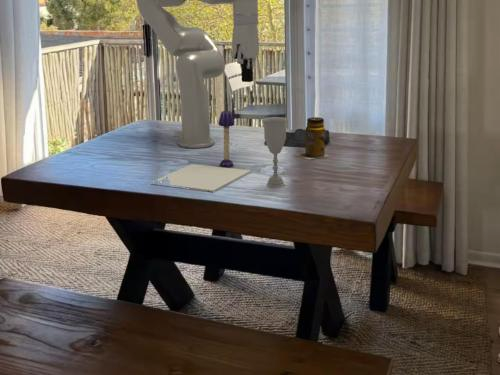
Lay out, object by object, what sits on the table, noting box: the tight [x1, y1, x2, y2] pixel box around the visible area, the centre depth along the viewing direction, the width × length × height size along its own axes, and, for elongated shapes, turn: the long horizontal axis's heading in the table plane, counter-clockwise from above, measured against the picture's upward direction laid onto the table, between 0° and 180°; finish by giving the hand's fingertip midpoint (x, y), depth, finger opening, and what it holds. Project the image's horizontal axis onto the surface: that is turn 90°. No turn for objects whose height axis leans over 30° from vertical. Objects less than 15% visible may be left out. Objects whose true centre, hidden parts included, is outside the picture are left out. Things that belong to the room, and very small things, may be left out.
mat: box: [153, 163, 252, 193], centre depth 190 cm, size 20×22×1 cm
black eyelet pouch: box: [263, 128, 330, 149], centre depth 233 cm, size 15×22×5 cm
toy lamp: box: [218, 110, 235, 168], centre depth 201 cm, size 5×5×17 cm
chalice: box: [261, 116, 289, 189], centre depth 180 cm, size 7×7×18 cm
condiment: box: [296, 116, 331, 160], centre depth 212 cm, size 7×8×12 cm
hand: (247, 81), depth 208 cm, fingers closed
